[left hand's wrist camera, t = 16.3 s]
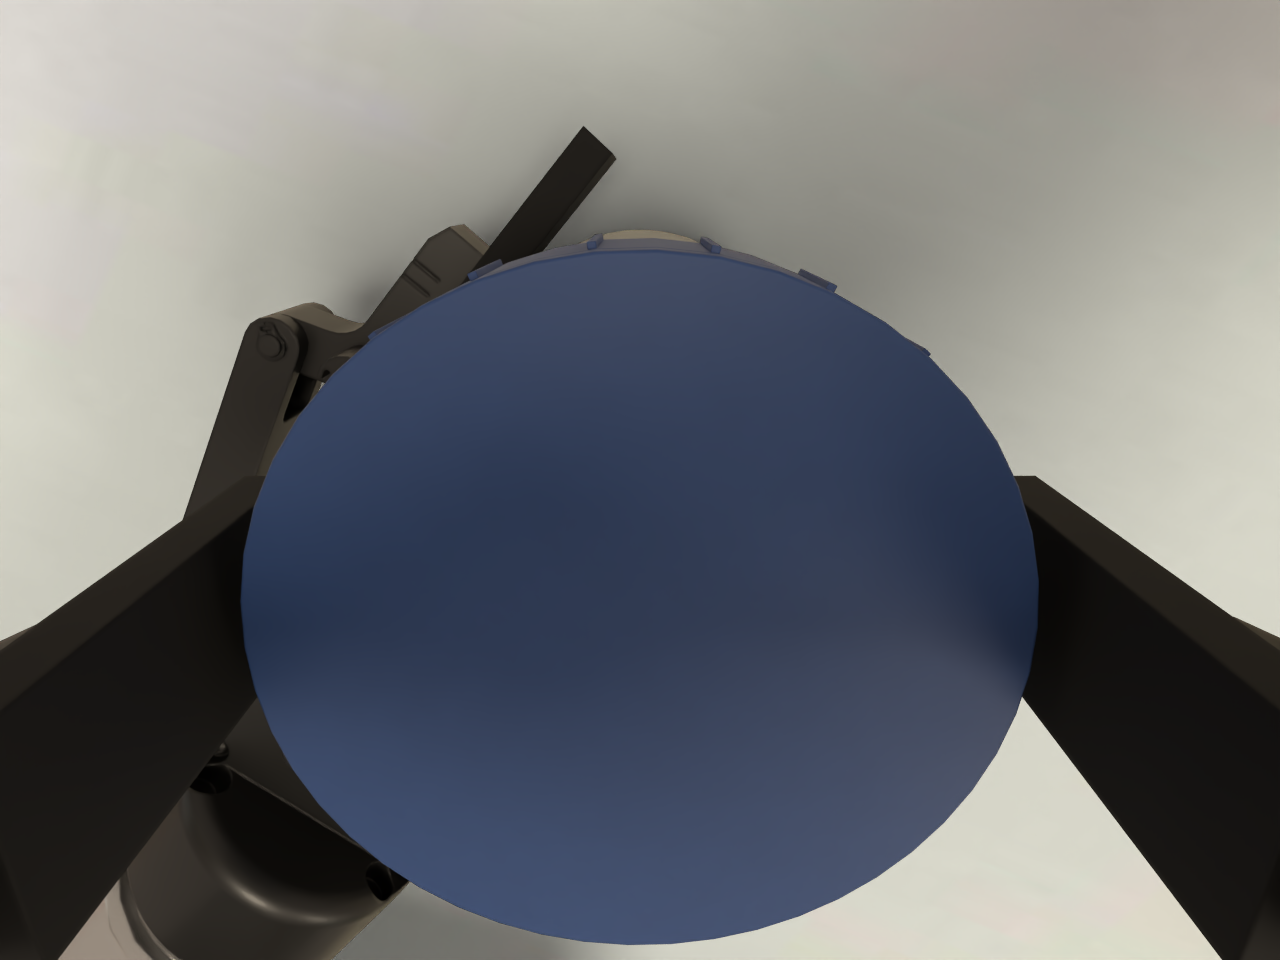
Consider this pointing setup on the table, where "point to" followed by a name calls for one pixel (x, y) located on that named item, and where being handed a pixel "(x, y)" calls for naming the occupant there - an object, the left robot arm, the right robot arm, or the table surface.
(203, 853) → the right robot arm
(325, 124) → the table surface
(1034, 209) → the table surface
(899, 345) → the lid
